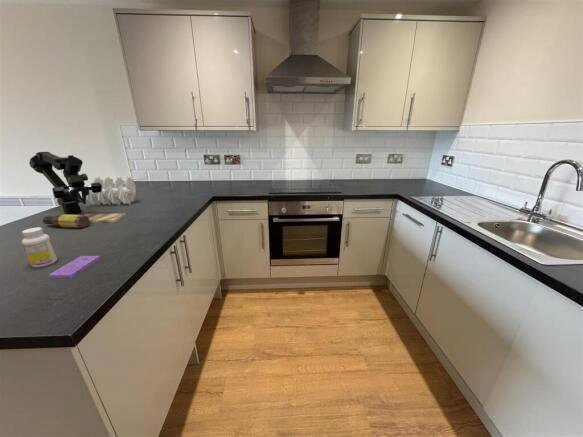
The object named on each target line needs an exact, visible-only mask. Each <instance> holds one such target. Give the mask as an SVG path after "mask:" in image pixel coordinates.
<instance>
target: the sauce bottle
mask: <svg viewBox="0 0 583 437" xmlns="http://www.w3.org/2000/svg"><path fill="white" fill-rule="evenodd" d="M85 215H86V214H78V215H65V213H64V214H57V215H55V216H51V215H46V216H44V217H43V218H42V222H43V224H45V225H54V226H55V227H58V228H59V227H60V228H61V227H62V228H75V229H76V228H77V229H81V228H82V229H84V228H87V227H88V226H89V224H90V223H89V218H88V217H87V216H85Z"/></svg>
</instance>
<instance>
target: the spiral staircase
mask: <svg viewBox="0 0 583 437" xmlns="http://www.w3.org/2000/svg"><path fill="white" fill-rule="evenodd" d="M98 182H99V183H101V185H102V192H99V193H93V192H92V191H91V190H89V195H87V196H86V202H88V203H91V205H97V206H99V205H101V204H103V205H107V204H108V205H111V203H112V204H114V205H117V206H120V205H121V203H122V204H123V205H124V204H128V205H130V204H131V203H134V201H135V200H134V199H135V197H137V196H136V194H137V190H136V186H137V185H136V183H135V180H134V179H132V177H131V176H130V177H126V179H125V180H123V179H122V177H118V176H117V177H116V179H115V180H113V178H110V176H107V177H105V178H104V179H101V177H97V178H96V177H94V179H93V181H92V183H98Z"/></svg>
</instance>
